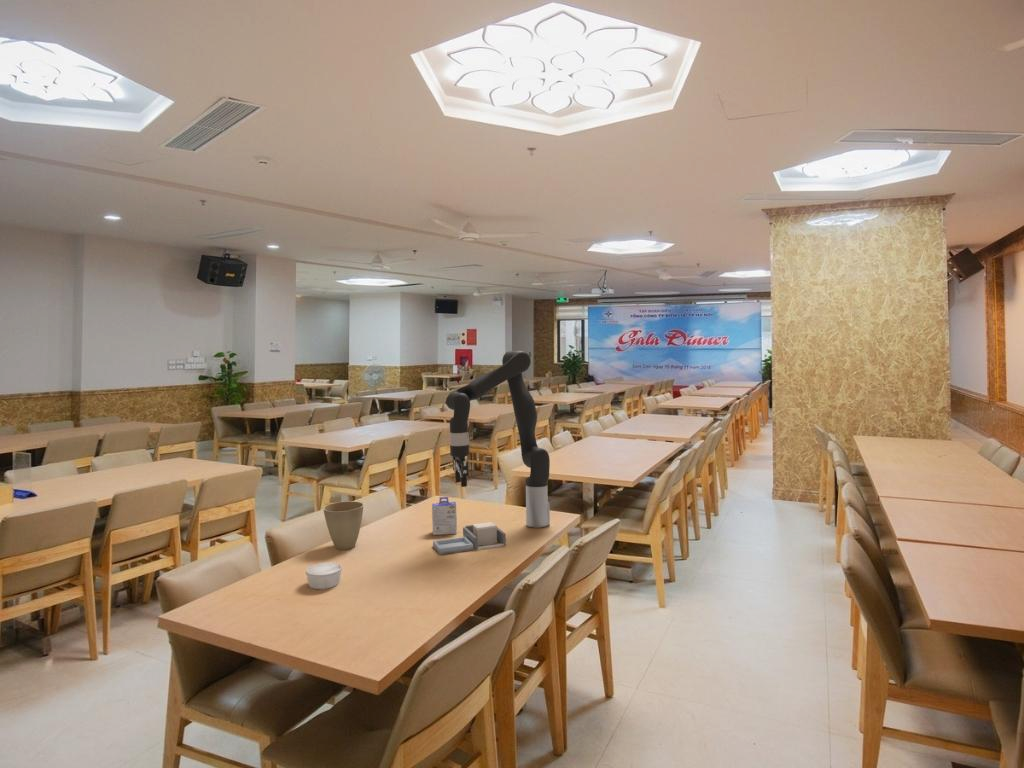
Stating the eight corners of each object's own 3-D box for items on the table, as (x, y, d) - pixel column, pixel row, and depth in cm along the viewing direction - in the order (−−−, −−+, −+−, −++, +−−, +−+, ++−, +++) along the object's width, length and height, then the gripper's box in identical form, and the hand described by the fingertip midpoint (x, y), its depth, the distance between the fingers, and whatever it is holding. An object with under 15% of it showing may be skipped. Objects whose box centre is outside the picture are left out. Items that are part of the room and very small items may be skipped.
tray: (465, 541, 230) (465, 536, 230) (473, 549, 221) (473, 544, 221) (433, 546, 225) (432, 540, 225) (439, 554, 216) (439, 548, 216)
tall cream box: (492, 539, 233) (492, 522, 232) (497, 543, 228) (496, 525, 228) (473, 542, 230) (472, 524, 229) (477, 546, 225) (476, 528, 225)
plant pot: (340, 539, 236) (339, 499, 235) (372, 542, 231) (371, 502, 230) (316, 551, 222) (314, 509, 221) (349, 555, 217) (348, 512, 216)
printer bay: (492, 534, 239) (492, 522, 239) (506, 545, 225) (506, 532, 225) (463, 538, 235) (462, 526, 234) (475, 550, 220) (474, 537, 220)
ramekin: (338, 590, 186) (337, 574, 185) (302, 592, 185) (301, 575, 184) (345, 576, 197) (345, 561, 196) (311, 578, 196) (310, 562, 196)
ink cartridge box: (456, 530, 246) (455, 495, 245) (457, 534, 240) (456, 499, 240) (432, 531, 245) (431, 497, 244) (432, 535, 239) (431, 500, 238)
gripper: (474, 445, 224) (475, 487, 225) (463, 440, 238) (465, 479, 239) (454, 447, 222) (456, 489, 223) (445, 441, 235) (447, 481, 236)
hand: (461, 484), depth 231 cm, fingers open, 8 cm apart
